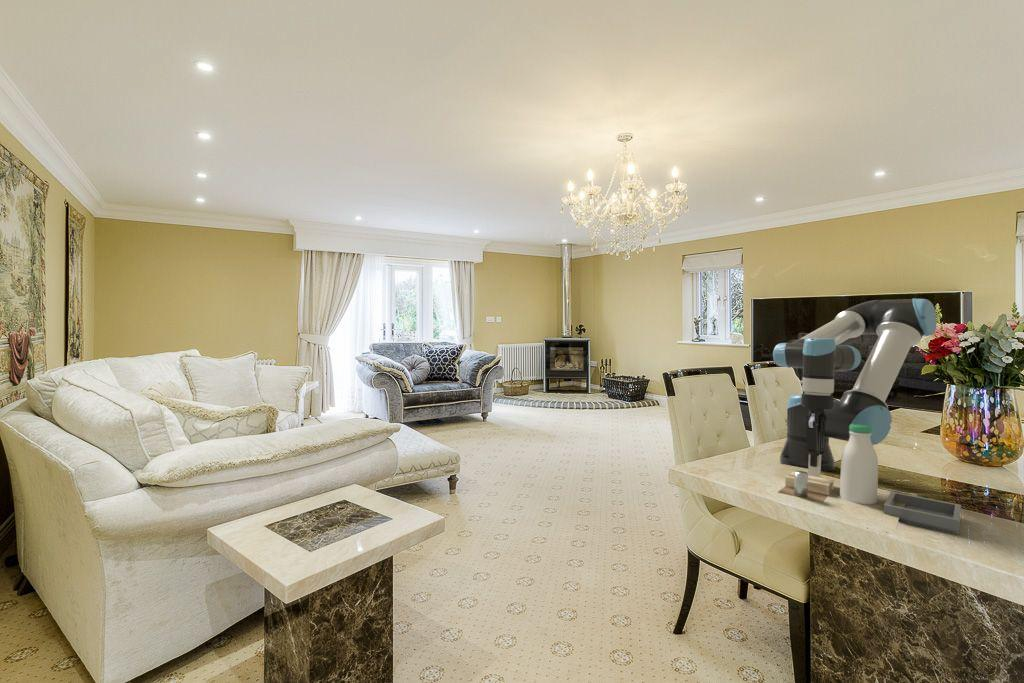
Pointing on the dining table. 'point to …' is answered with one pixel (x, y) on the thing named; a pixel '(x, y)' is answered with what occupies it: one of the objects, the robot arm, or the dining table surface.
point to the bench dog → (801, 484)
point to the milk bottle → (859, 467)
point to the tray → (925, 512)
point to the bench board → (811, 496)
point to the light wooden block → (813, 484)
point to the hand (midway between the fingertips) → (814, 477)
